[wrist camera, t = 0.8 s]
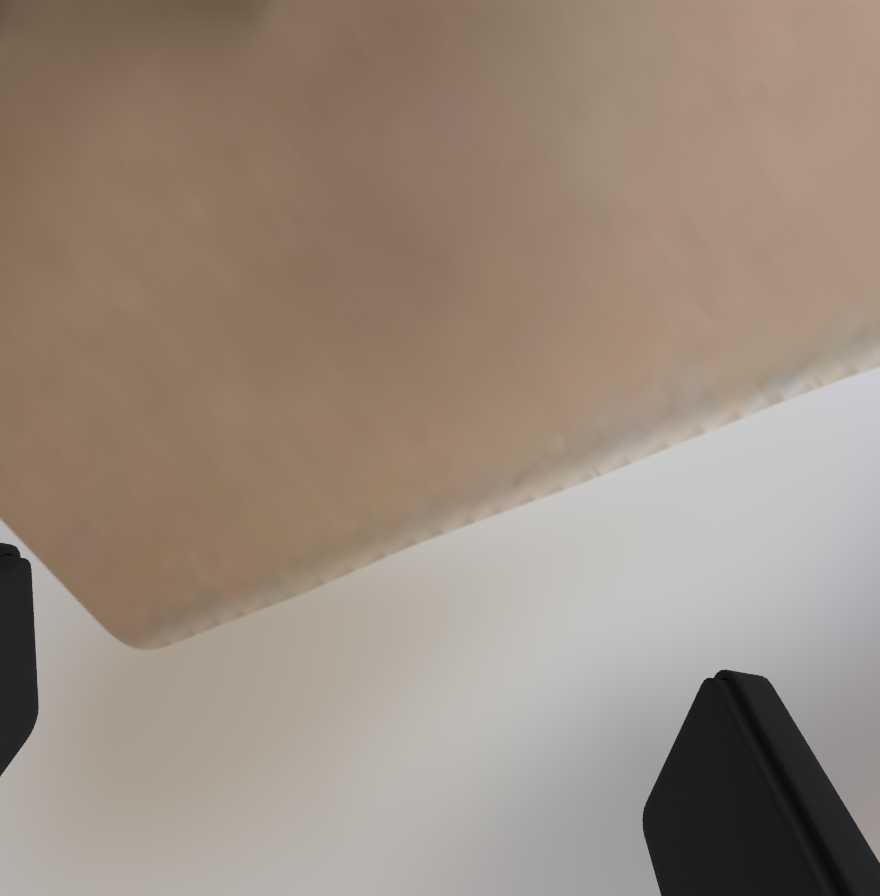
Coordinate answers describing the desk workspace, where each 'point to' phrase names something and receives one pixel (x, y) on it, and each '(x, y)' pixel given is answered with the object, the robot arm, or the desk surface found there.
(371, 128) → the desk surface
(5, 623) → the robot arm
